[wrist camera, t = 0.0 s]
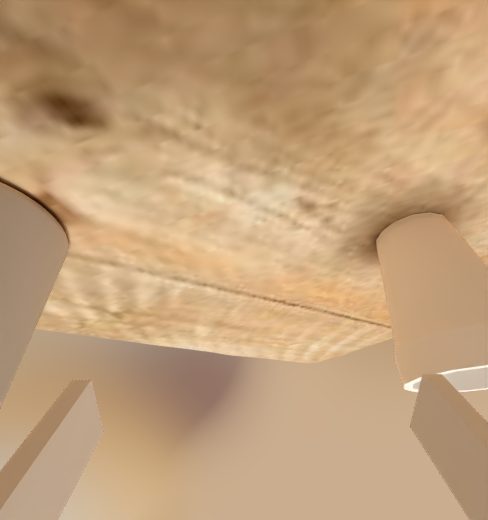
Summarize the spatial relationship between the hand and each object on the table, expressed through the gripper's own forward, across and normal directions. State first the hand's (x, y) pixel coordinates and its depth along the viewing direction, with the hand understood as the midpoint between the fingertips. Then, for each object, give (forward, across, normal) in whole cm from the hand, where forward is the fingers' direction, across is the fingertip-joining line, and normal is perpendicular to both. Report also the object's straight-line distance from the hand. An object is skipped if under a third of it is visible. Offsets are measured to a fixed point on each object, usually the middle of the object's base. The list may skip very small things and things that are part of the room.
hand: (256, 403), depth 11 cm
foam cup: (+17, +16, +2) cm, 23 cm away
